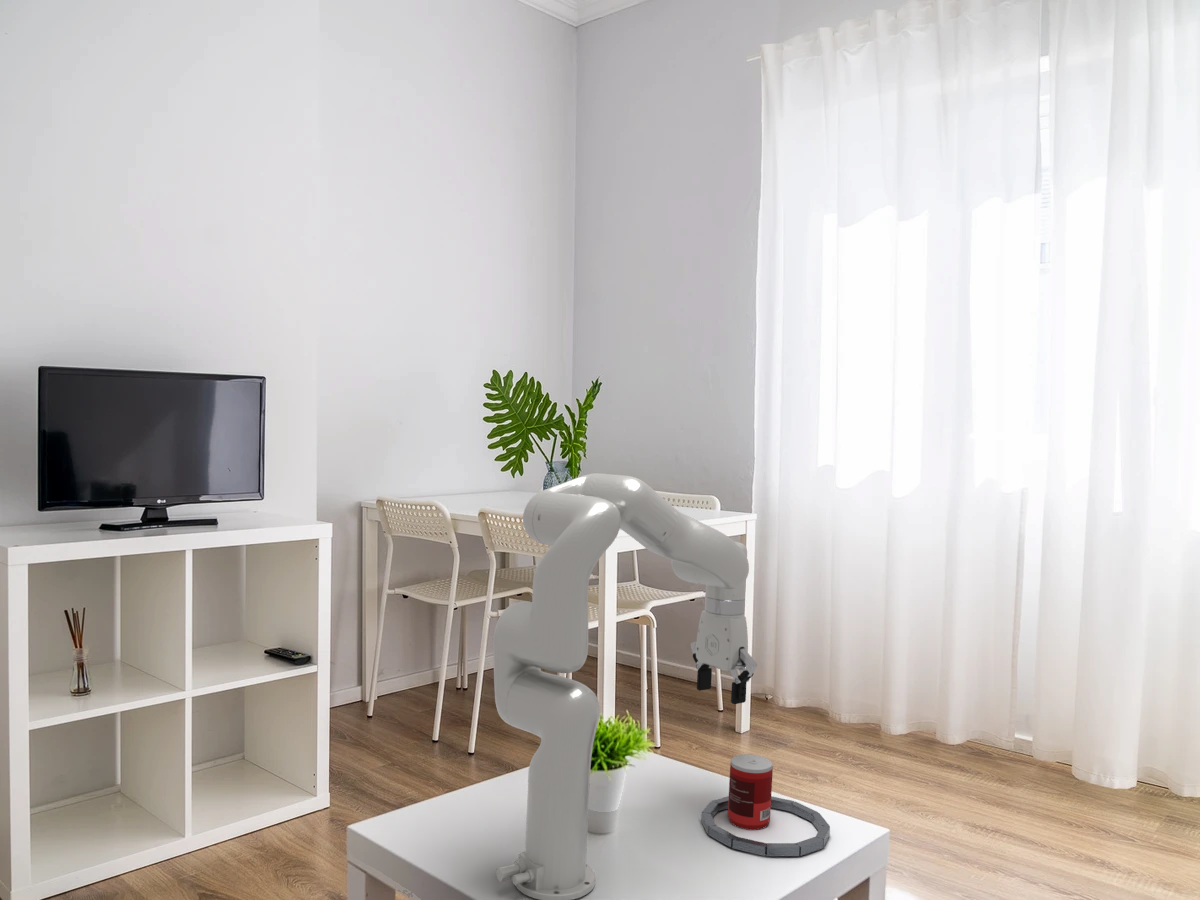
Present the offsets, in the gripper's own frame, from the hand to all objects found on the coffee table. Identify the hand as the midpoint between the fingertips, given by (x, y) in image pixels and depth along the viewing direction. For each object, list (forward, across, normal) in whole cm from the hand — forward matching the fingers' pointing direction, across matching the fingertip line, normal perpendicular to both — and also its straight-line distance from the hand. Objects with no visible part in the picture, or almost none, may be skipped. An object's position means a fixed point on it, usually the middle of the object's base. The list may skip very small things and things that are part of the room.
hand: (720, 696), depth 176 cm
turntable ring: (+21, +13, 0) cm, 24 cm away
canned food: (+21, +9, 0) cm, 23 cm away
